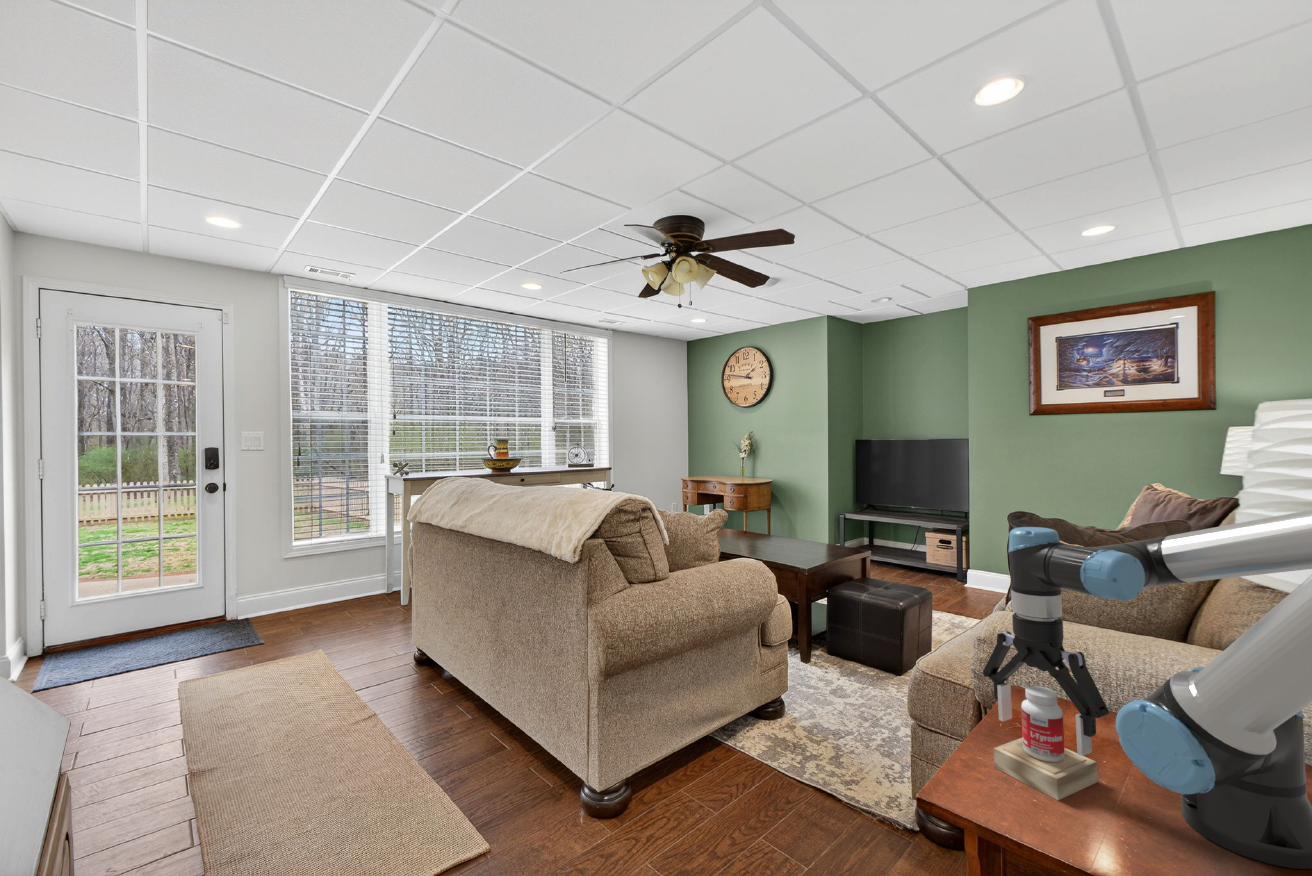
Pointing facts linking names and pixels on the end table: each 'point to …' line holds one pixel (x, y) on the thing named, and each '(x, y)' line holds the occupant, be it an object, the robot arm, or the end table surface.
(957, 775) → the end table surface
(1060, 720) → the pill bottle
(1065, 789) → the maple plinth
